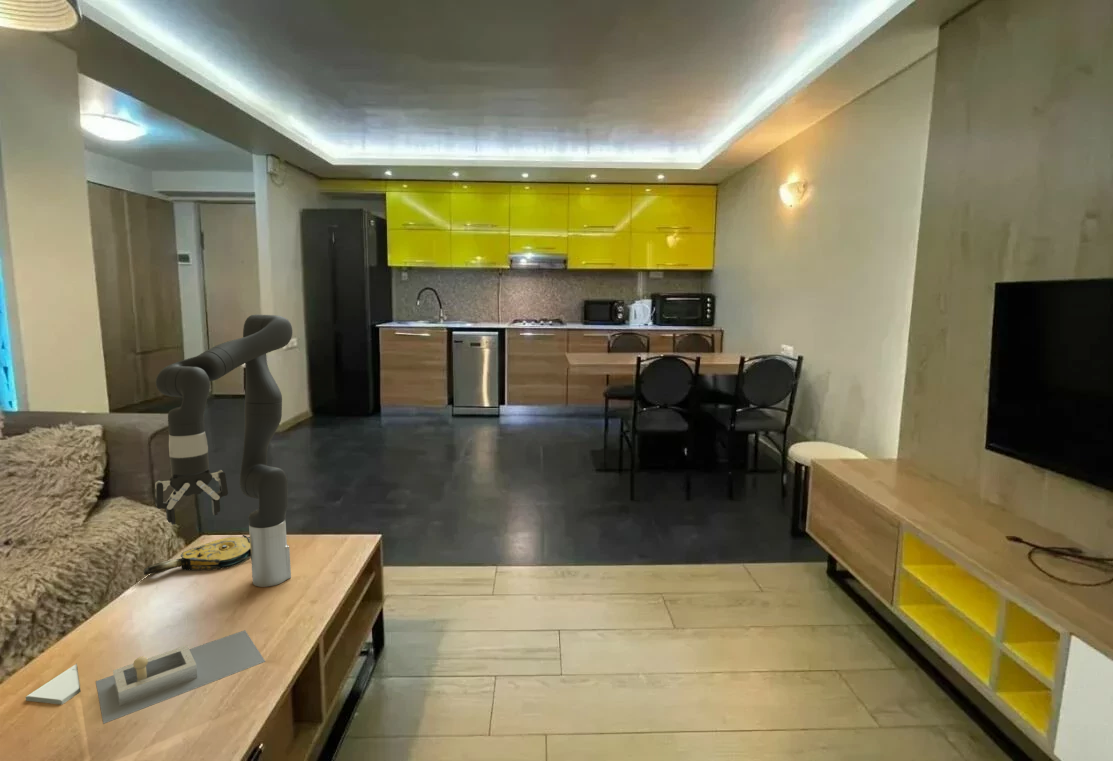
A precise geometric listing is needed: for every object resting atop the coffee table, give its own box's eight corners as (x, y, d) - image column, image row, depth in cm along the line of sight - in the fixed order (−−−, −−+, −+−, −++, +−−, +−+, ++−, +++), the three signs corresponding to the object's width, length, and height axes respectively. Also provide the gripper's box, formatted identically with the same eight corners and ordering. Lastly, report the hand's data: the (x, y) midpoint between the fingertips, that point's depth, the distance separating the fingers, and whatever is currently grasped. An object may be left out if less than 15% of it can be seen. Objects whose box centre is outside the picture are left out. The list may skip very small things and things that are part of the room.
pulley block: (140, 548, 169) (254, 526, 187) (142, 566, 170) (255, 541, 188) (143, 574, 158) (263, 547, 176) (144, 592, 160) (264, 564, 178)
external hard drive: (26, 703, 115) (84, 664, 127) (62, 707, 114) (117, 667, 126) (25, 695, 114) (83, 657, 127) (61, 699, 113) (116, 660, 126)
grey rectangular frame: (188, 657, 127) (187, 645, 126) (197, 677, 120) (196, 664, 120) (114, 683, 118) (112, 670, 118) (119, 706, 111) (118, 692, 111)
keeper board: (245, 634, 138) (243, 605, 137) (265, 666, 126) (263, 635, 125) (96, 686, 119) (92, 653, 118) (104, 729, 107) (100, 693, 106)
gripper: (219, 443, 141) (224, 507, 143) (149, 453, 131) (155, 521, 134) (227, 450, 135) (232, 516, 138) (154, 461, 126) (160, 531, 128)
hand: (194, 518), depth 136 cm, fingers open, 8 cm apart
